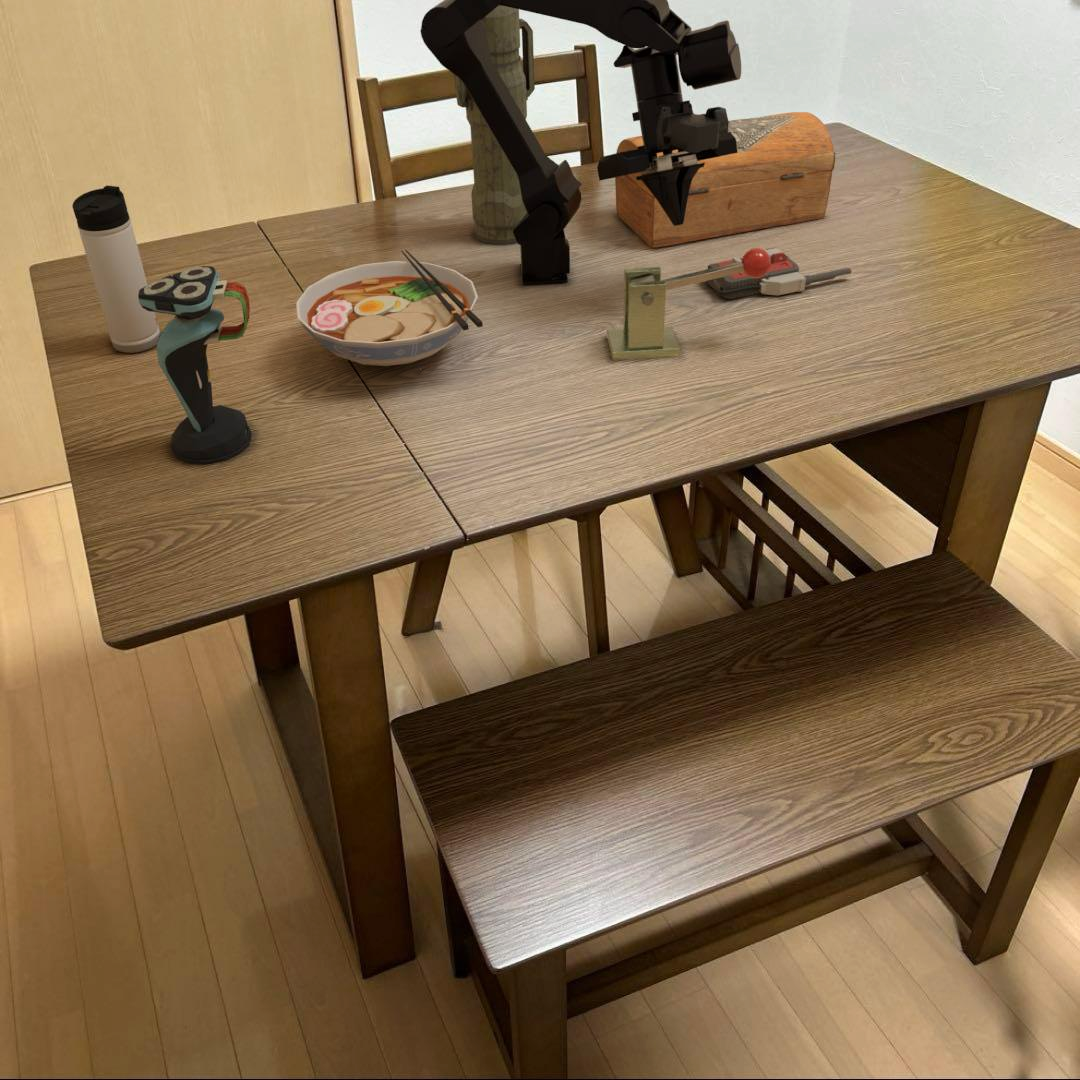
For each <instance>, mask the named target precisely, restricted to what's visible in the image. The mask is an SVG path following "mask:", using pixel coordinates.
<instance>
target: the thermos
mask: <svg viewBox="0 0 1080 1080" xmlns="http://www.w3.org/2000/svg"><path fill="white" fill-rule="evenodd" d="M481 21H482V23H483V26H484V28H485V31H486V34H487V39H488V45H489V51H490V56H491V59H492V62H493V64H494V65H495V67H496V69H497V71H498V72H499V74H500V76H501V78H502V79H503V81H504V83H505V85H506V86H507V88H508V90H509V92H510V93H511V95H512V97H513V98H514V100H515V102H516V104H517V105H518V107H519V109H520V111H521V112H522V114H523V116H524V118H525V119H526V120H527V117H528V103H527V102H528V101H529V98H530V97H531V95H532V94H533V93H534V91H535V87H536V86H535V57H534V56H535V55H534V31H533V28H532V27H531V26H530V25H529V23H528V21H526V20H525V19H523V18H520V9H515V8H511V7H506V6H498V7H496V8H495V9H494V10H493V11H491V12H490V13H489V14H488V15H487V16H485V17H484V18H483V19H482V20H481ZM521 46H522V47H521ZM520 48H521V50H522V56H521V55H520ZM521 57H522V58H521ZM453 75H454V74H453ZM454 88H455V89H454V90H455V91H454V92H455V97H456V98H455V99H456V103H457V106H458V107H460V108H465V114H466V117H465V118H466V120H467V122H468V124H469V126H470V128H469V129H470V141H471V158H472V173H473V186H472V189H471V193H470V196H471V210H472V211H471V212H472V220H473V222H474V236H475V237H476V239H477V240H478V241H480V242H483V243H486V244H489V245H490V244H491V245H512V244H516V243H517V241H516V238H515V236H514V233H513V230H514V229H515V227H516V226H517V225H518V224H519V222H520V221H521V220H522V219H523V217H524V216H525V215H526V214H527V211H526V209H525V206H524V204H523V201H522V196H521V190H520V185H519V179H518V176H517V174H516V172H515V170H514V168H513V167H512V165H511V163H510V162H509V160H508V158H507V157H506V155H505V153H504V152H503V150H502V148H501V146H500V145H499V143H498V141H497V140H496V138H495V136H494V135H493V133H492V131H491V129H490V128H489V126H488V124H487V123H486V121H485V119H484V118H483V116H482V114H481V113H480V111H479V109H478V107H477V106H476V104H475V102H474V101H473V99H472V97H471V96H470V94H469V92H468V91H467V89H466V87H465V85H464V84H463V82H462V81H461V80H460V79H459V78H458V77H457V76H456V75H454Z"/></svg>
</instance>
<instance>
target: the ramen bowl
mask: <svg viewBox="0 0 1080 1080" xmlns="http://www.w3.org/2000/svg"><path fill="white" fill-rule="evenodd" d="M404 250H405V252H406V253H405V252H404V251H403V250H401V251H400V252H401V253H402V255H403V256H404V258H406V260H407V261H402V260H392V261H382V262H374V263H366V264H365V263H364V264H359V265H355V266H352V267H349V268H346V269H343V270H339V271H336V272H332V273H330V274H328V275H326V276H324V277H322V279H319V280H317V281H315V282H314V283H312V284H310V285H309V286H307V287H306V289H305V290H304V291H303V292H302V294H301V295H300V297H299V298H298V300H296V302H295V304H296V318H297V320H298V322H299V323H300V324H301V326H302V327H303V328H304V329H305V330H306V331H307V332H308V333H309V334H310V335H311V336H312V338H314V339H315V340H316V341H318V342H319V343H320V344H321V345H322V346H323V347H324V348H325V349H327V350H328V351H329V352H331V353H332V354H334V356H337V357H339V358H342V359H345V360H348V361H350V362H351V361H352V362H354V363H358V364H361V365H364V366H380V367H390V366H396V365H399V366H400V365H406V364H412V363H415V362H417V361H419V360H423V359H426V358H428V357H431V356H433V355H435V354H437V353H438V352H440V351H441V350H442V349H443V348H445V347H446V346H448V345H450V344H451V343H452V342H453V341H455V339H456V338H457V337H458V336H459V335H460V333H461V332H462V330H463V331H469V329H470V327H469V324H468V320H470V321H471V322H472V323H473V324H474V325H475V326H476V327H477V328H481V327H483V321H482V320H481V319H480V318H479V317H478V316H477V315H476V314H475V313H474V312H473V310H474V307H475V305H476V302H477V301H478V298H479V295H478V293H477V290H476V287H475V284H474V282H473V280H471V279H470V278H468V277H466V276H465V275H463V274H461V273H460V272H458V271H457V270H455V269H452V268H449V267H446V266H441V265H437V264H434V263H430V262H423V261H419V260H418V259H416V257H415V256H413V255H412V254H411V253H410V252H409V251H408V250H407V249H404ZM410 257H411V259H410ZM412 260H413V261H412Z"/></svg>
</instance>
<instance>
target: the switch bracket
mask: <svg viewBox="0 0 1080 1080" xmlns="http://www.w3.org/2000/svg"><path fill="white" fill-rule="evenodd" d="M661 271H662V270H661V267H660V266H653V267H637V268H634V267H633V268H624V272H623V273H624V277H623V278H624V279H623V323H622V325H623V326H622V327H623V328H622V329H609V330H606V339H607V343H608V348H609V352H610V356H611V359H612V361H624V360H640V359H654V358H655V359H659V358H673V357H680V356H681V355H680V353H681V348H680V345H679V342H678V339H677V337H676V334H675V331H674V328H673V326H665V312H666V294H667V293H666V291H667V290H666V283H665V281H661V274H662V273H661ZM651 275H653V277H654V280H655V281H654V282H637V283H631V280H634V279H638V278H642V277H647V276H651Z"/></svg>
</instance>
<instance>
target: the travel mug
mask: <svg viewBox="0 0 1080 1080" xmlns="http://www.w3.org/2000/svg"><path fill="white" fill-rule="evenodd" d="M125 199H126V198H125V195H124V192H123V191H121V189H120V186H116V185H105V186H103V188H97V189H93V190H90V191H87V192H84V193H83V194H81V195H79V196H78V197H76V198H75V199H74V200H73V202H72V205H71V207H72V210H73V213H74V217H75V219H76V224H77V229H78V231H79V235H80V240H81V242H82V246H83V249H84V253H85V255H86V260H87V263H88V267H89V269H90V273H91V277H92V280H93V283H94V287H95V291H96V293H97V297H98V301H99V303H100V307H101V310H102V314H103V317H104V321H105V324H106V328H107V330H108V333H109V336H110V337H109V338H110V341H111V344H112V347H113V348H114V349H115V350H116V351H118V352H121V353H125V354H135V353H142V352H145V351H148V350H150V349H152V348H155V347H157V341H158V338H159V336H160V334H161V329H160V326H159V323H158V319H157V315H156V312H151V311H147V310H146V309H144V308H142V306H141V305H140V303H139V300H138V294H139V290H140V289H141V288H143V287H145V286H147V285H149V284H148V280H147V277H146V273H145V269H144V266H143V261H142V257H141V254H140V250H139V247H138V243H137V239H136V235H135V231H134V227H133V224H132V220H131V216H130V215H129V211H128V206H127V203H126V200H125Z"/></svg>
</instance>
